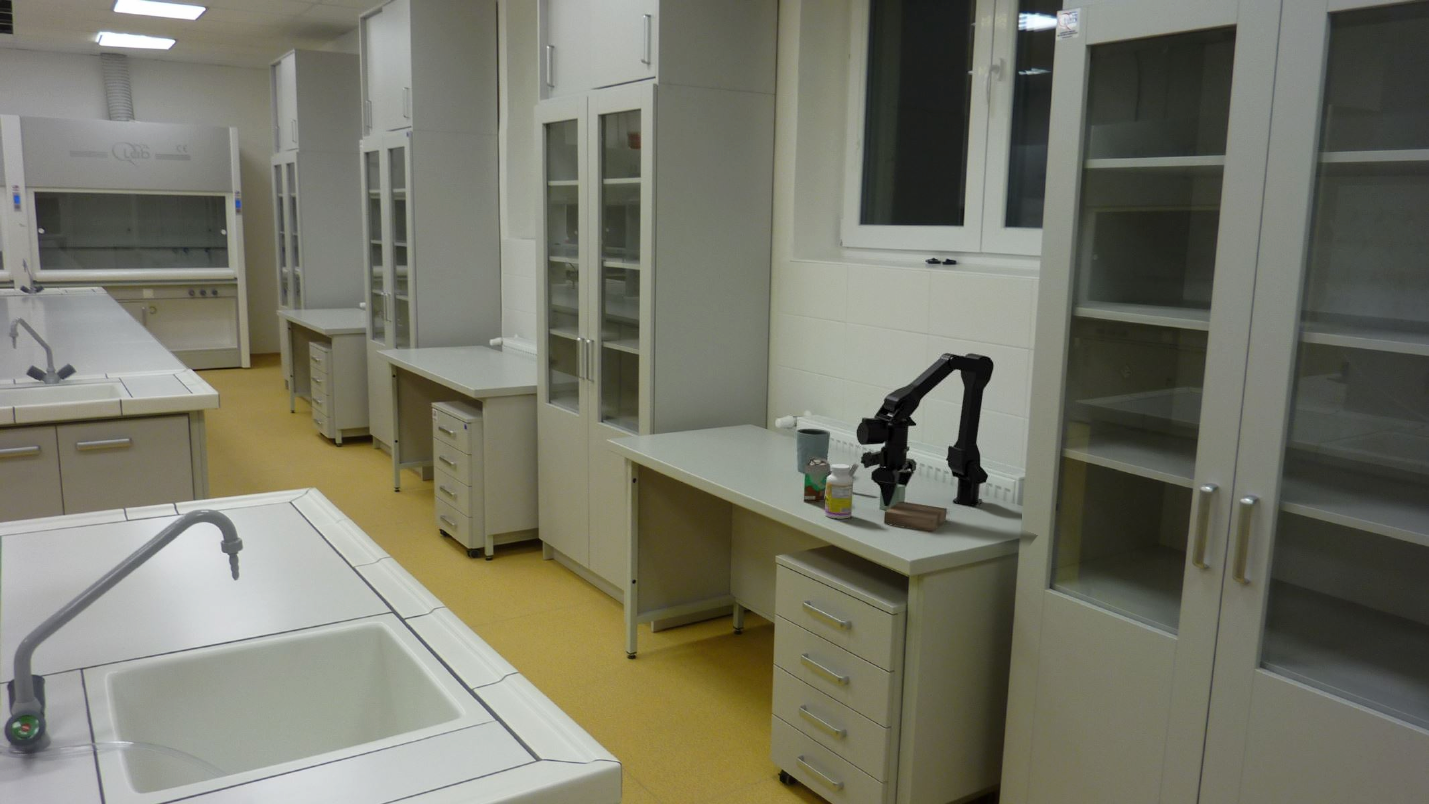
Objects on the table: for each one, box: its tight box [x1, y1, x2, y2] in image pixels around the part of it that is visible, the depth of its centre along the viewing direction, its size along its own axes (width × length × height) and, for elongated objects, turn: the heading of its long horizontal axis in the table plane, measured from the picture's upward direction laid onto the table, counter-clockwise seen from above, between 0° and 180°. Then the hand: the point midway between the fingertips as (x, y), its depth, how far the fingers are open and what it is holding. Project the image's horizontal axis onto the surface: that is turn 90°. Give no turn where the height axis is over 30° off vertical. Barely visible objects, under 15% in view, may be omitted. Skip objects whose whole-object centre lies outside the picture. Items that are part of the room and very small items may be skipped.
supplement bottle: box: [824, 463, 854, 520], centre depth 252 cm, size 7×7×13 cm
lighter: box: [849, 462, 860, 478], centre depth 278 cm, size 7×2×8 cm, turn 69°
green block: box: [878, 485, 907, 511], centre depth 261 cm, size 5×5×6 cm
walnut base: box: [883, 501, 948, 532], centre depth 250 cm, size 12×12×3 cm
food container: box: [803, 457, 831, 503], centre depth 269 cm, size 12×6×10 cm, turn 168°
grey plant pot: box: [795, 428, 831, 474], centre depth 300 cm, size 10×10×12 cm
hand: (892, 502), depth 262 cm, fingers open, 9 cm apart
